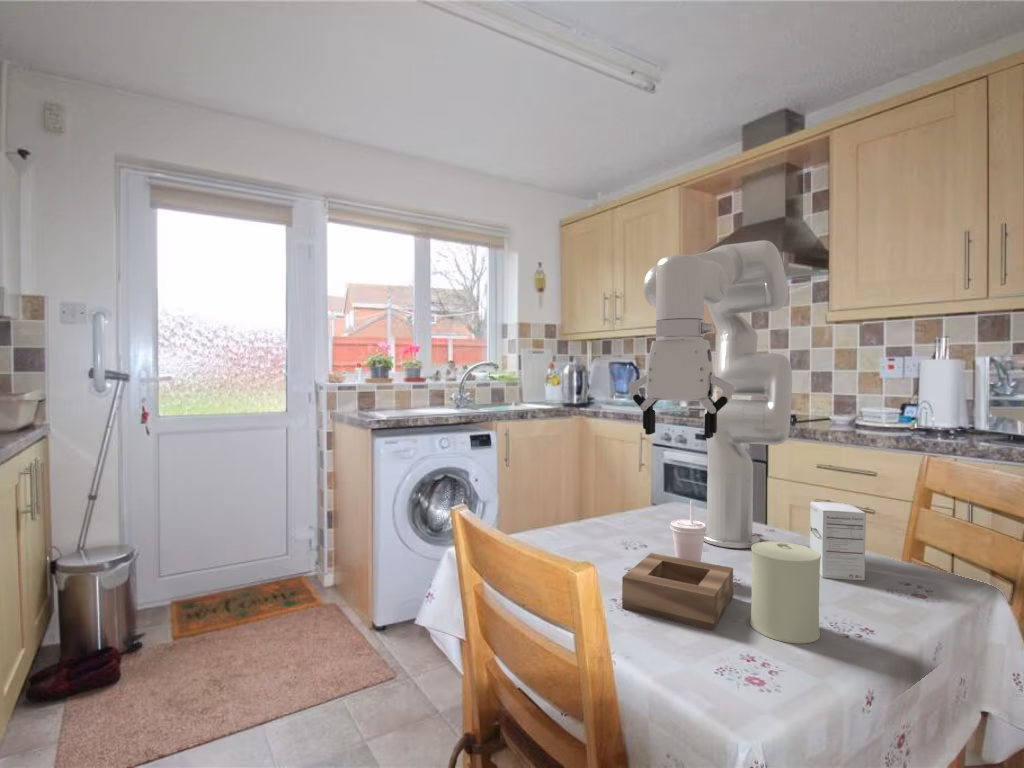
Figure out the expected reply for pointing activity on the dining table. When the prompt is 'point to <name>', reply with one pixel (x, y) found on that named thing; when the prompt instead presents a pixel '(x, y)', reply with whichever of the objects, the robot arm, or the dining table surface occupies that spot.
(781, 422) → the robot arm
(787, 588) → the can
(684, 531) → the smoothie
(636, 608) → the socket block
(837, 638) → the dining table surface
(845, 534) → the supplement box
